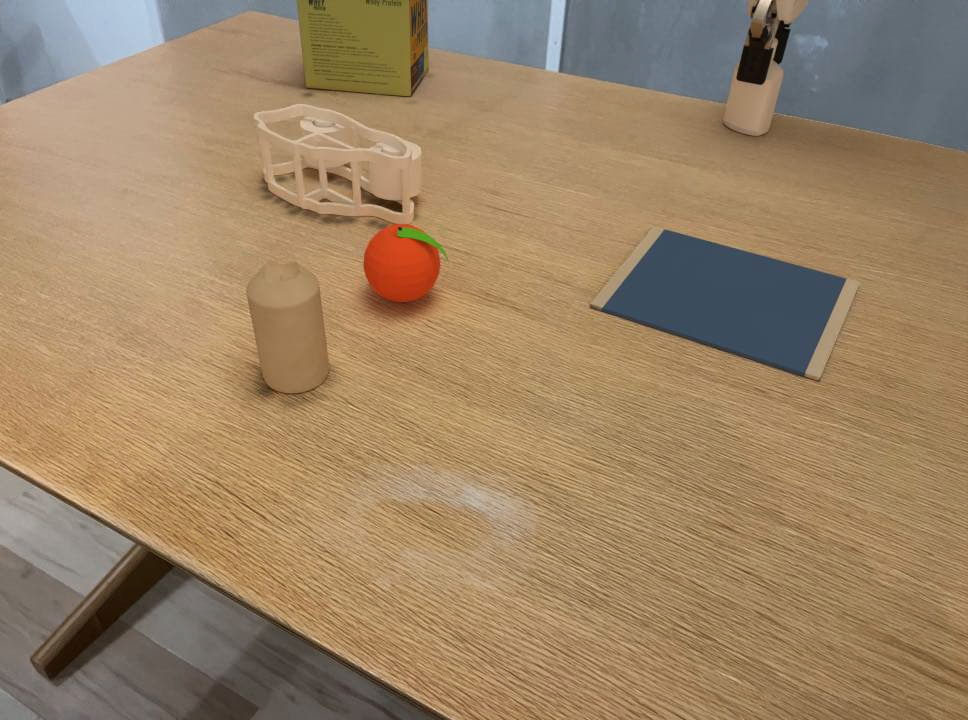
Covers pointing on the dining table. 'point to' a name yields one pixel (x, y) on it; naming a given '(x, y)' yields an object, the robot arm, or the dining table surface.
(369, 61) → the protein box
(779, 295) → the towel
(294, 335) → the candle
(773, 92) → the eye dropper bottle
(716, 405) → the dining table surface
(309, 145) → the cream open lattice frame
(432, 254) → the clementine
